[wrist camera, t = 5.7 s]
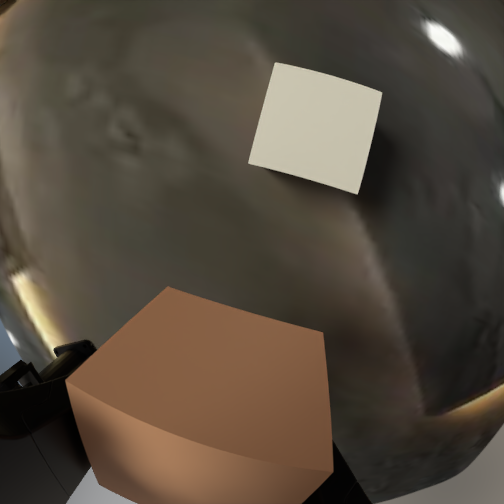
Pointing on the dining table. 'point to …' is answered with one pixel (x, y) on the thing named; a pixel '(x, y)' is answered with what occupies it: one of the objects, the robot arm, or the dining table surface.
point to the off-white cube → (316, 127)
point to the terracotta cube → (206, 406)
